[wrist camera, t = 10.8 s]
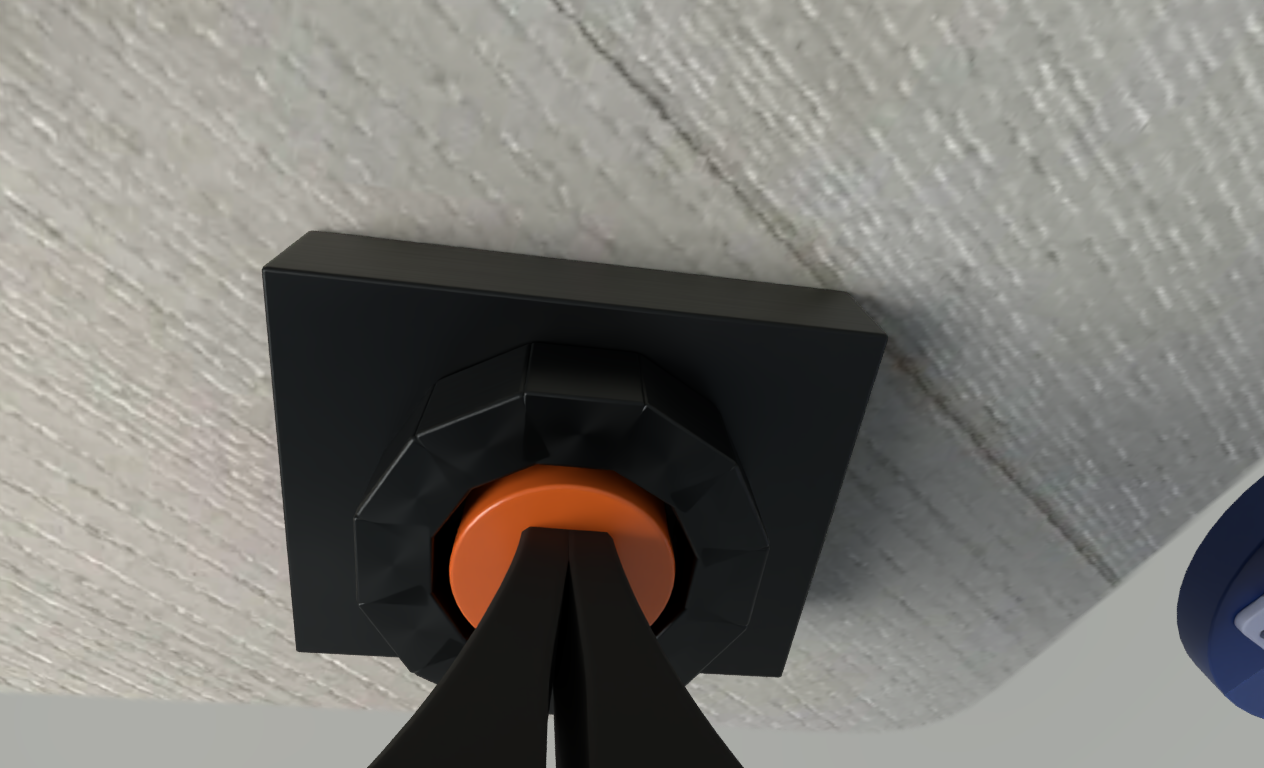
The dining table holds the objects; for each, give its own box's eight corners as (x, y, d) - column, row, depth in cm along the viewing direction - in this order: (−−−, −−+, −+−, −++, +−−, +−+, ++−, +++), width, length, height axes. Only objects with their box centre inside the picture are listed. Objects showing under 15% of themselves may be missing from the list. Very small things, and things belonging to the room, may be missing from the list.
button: (680, 436, 13) (693, 495, 11) (650, 596, 14) (658, 667, 13) (468, 417, 12) (450, 476, 11) (461, 583, 14) (445, 656, 12)
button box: (848, 290, 14) (938, 384, 10) (760, 605, 18) (804, 755, 14) (309, 228, 13) (203, 309, 9) (329, 577, 16) (258, 733, 13)
